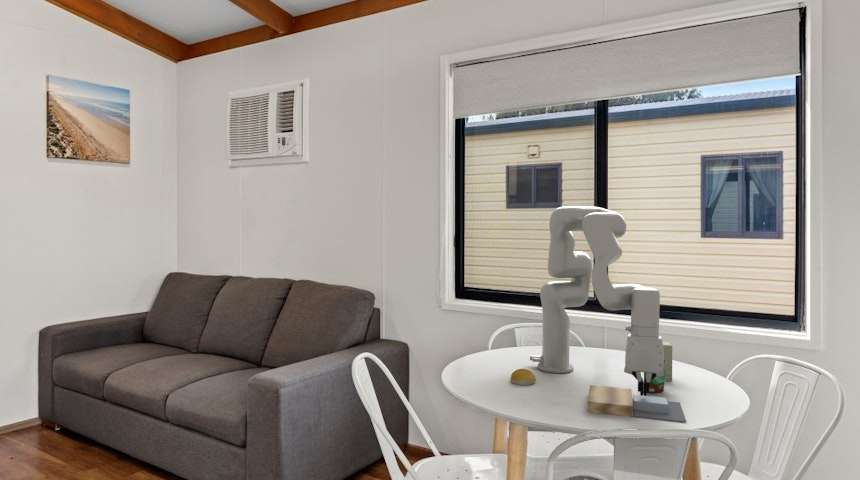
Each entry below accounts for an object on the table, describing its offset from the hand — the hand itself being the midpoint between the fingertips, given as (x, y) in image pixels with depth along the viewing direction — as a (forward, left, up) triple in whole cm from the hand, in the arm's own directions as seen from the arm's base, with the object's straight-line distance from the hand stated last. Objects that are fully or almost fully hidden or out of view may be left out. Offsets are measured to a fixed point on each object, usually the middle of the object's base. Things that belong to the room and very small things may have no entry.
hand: (643, 394), depth 159 cm
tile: (+2, 0, -4) cm, 4 cm away
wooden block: (-9, 0, -4) cm, 10 cm away
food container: (+5, +19, -4) cm, 20 cm away
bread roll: (-37, +15, -4) cm, 40 cm away
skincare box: (+8, +34, -4) cm, 35 cm away
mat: (+4, 0, -4) cm, 6 cm away
